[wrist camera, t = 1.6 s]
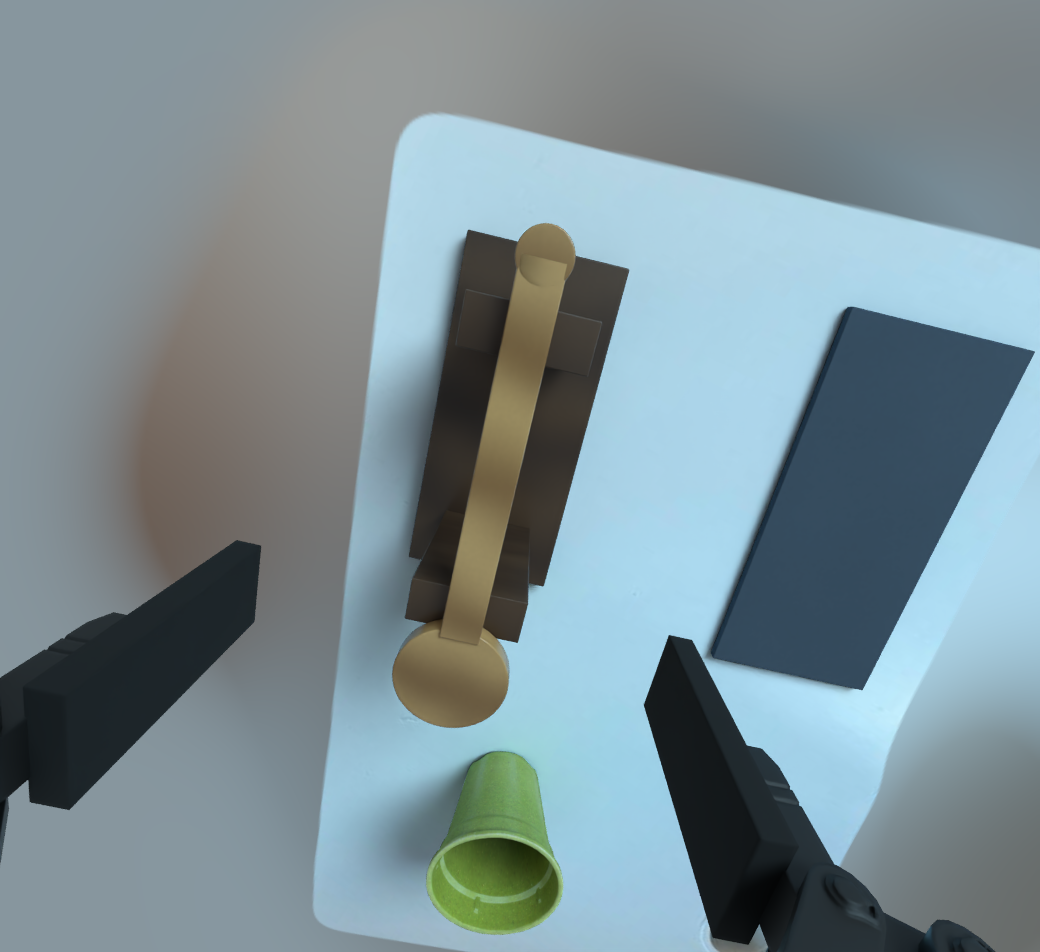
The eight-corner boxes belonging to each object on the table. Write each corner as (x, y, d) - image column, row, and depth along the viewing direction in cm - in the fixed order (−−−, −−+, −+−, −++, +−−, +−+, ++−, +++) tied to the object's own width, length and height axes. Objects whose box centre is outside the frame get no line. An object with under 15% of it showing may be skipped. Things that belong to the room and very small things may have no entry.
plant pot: (449, 728, 41) (427, 830, 32) (562, 738, 41) (570, 842, 32) (445, 815, 43) (424, 929, 35) (552, 824, 43) (556, 940, 35)
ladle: (479, 212, 20) (476, 204, 19) (622, 247, 20) (627, 242, 19) (389, 701, 27) (382, 718, 26) (496, 724, 27) (494, 741, 26)
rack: (469, 232, 30) (435, 178, 20) (626, 271, 31) (675, 238, 20) (411, 551, 36) (361, 640, 26) (543, 580, 37) (546, 679, 26)
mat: (847, 306, 31) (852, 306, 30) (1026, 351, 31) (1035, 351, 31) (710, 653, 38) (712, 658, 38) (857, 685, 39) (862, 690, 38)
